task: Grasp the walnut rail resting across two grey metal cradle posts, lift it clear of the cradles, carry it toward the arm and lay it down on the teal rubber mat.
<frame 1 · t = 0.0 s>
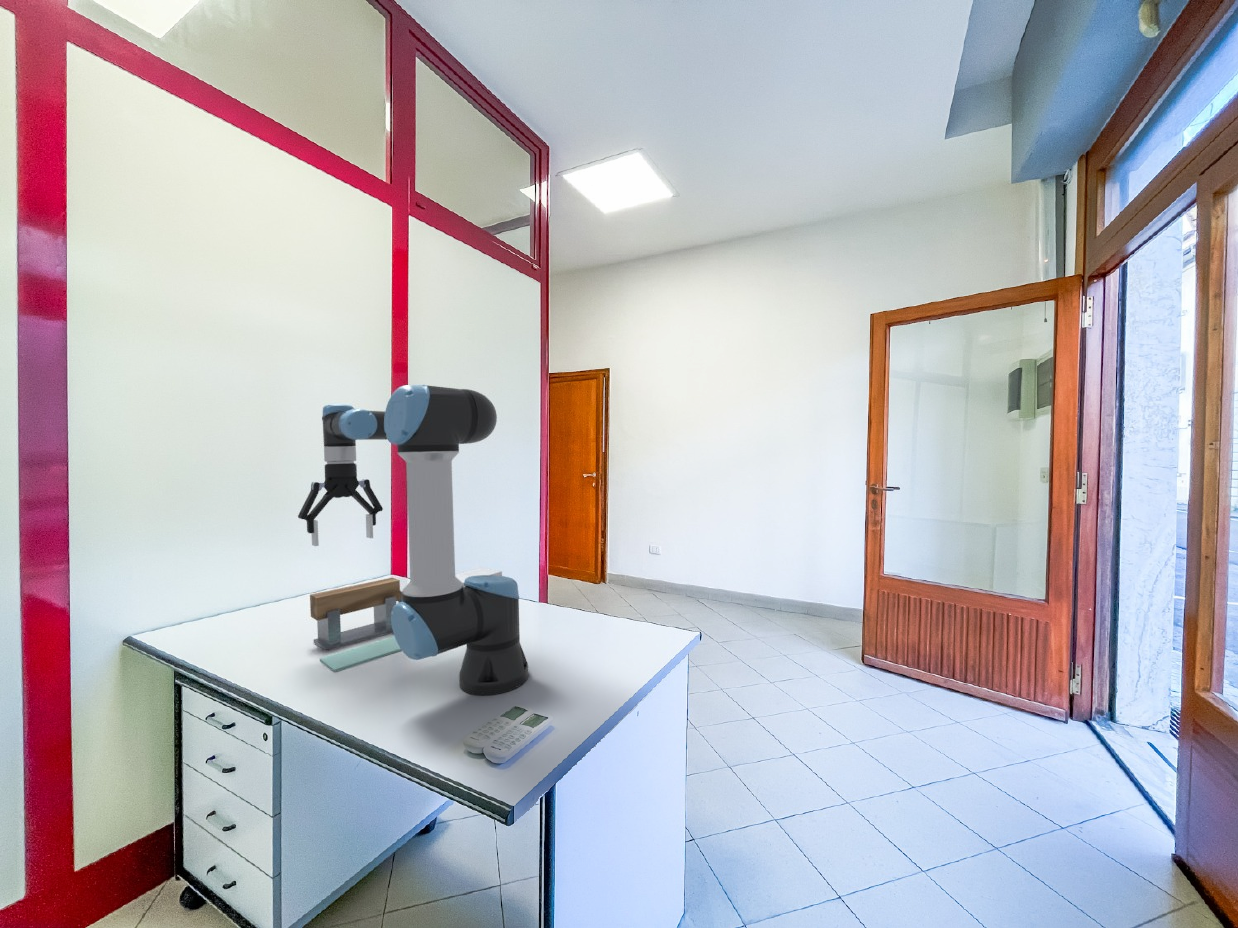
hand: (343, 541, 133), 28 cm above the table, fingers open, 13 cm apart
standards: (358, 636, 140), on the table
mat: (377, 650, 129), on the table
rail: (357, 608, 140), point 8 cm above the table, touching standards
stack of papers: (454, 613, 159), on the table
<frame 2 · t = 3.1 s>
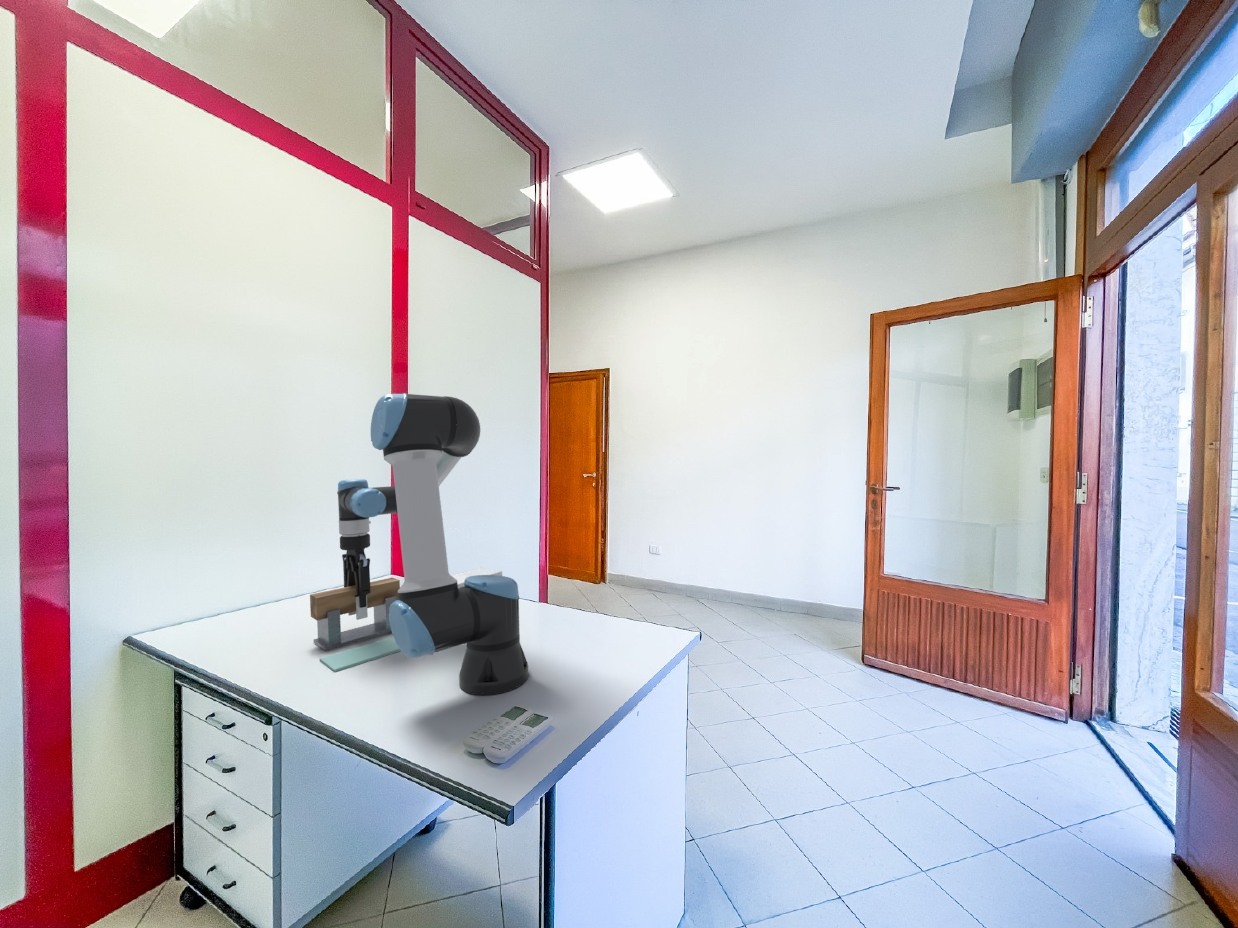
hand: (357, 615, 140), 6 cm above the table, fingers closed on rail, 5 cm apart
rail: (357, 608, 140), point 8 cm above the table, touching gripper, standards
everything else where it was.
when the fingers open (1 cm above the table, at t = 9.2 s): rail drops 1 cm, point 2 cm above the table.
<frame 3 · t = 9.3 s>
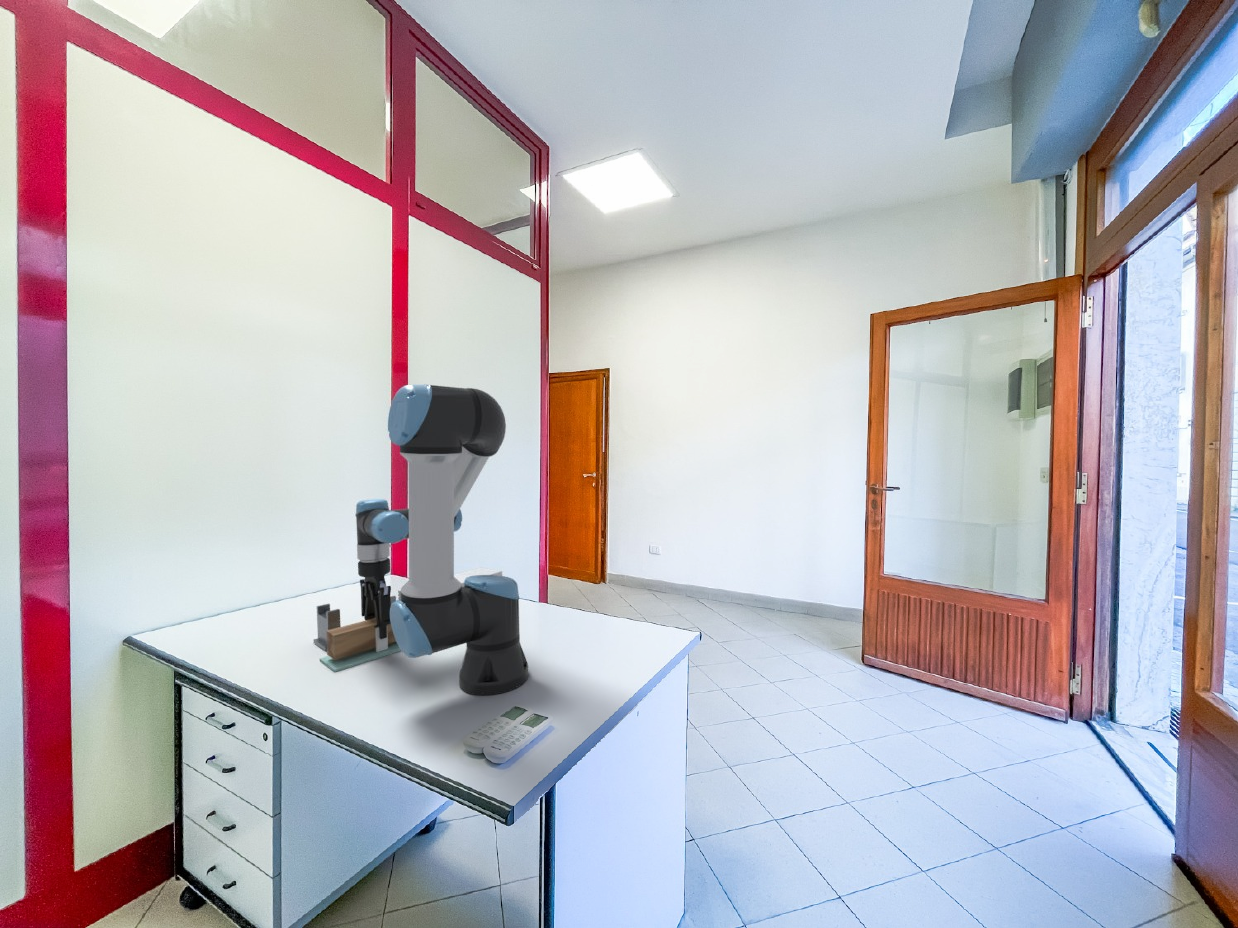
hand: (377, 646, 129), 1 cm above the table, fingers open, 5 cm apart
rail: (377, 643, 129), point 2 cm above the table
everything else where it was.
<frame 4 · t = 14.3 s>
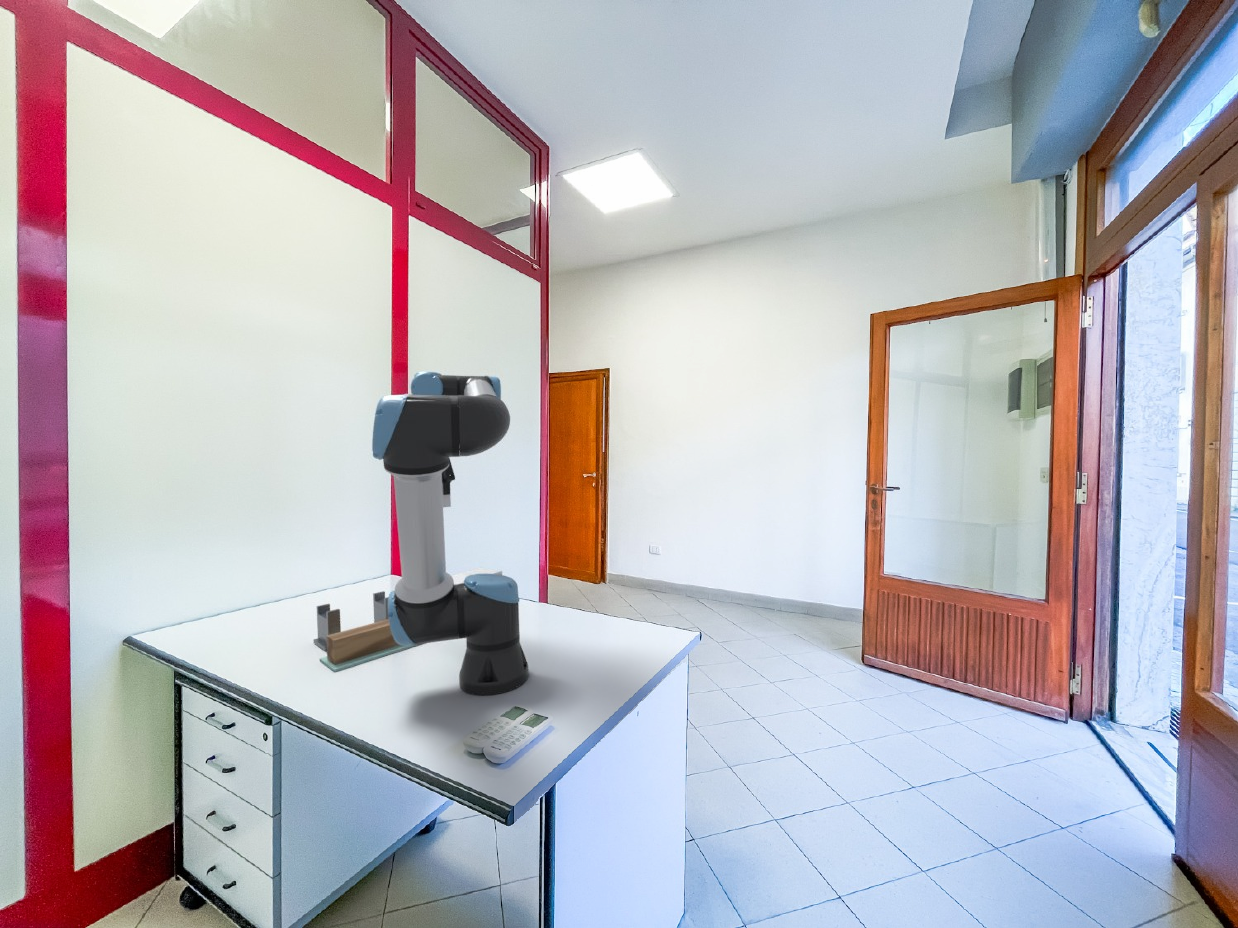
hand: (432, 505, 137), 37 cm above the table, fingers open, 13 cm apart
rail: (377, 648, 129), point 1 cm above the table, touching mat
everything else where it was.
at the end: rail inside the target area on the mat (0.2 cm from its centre), point 0.6 cm above the mat's base; rail touching mat; the gripper is holding nothing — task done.
